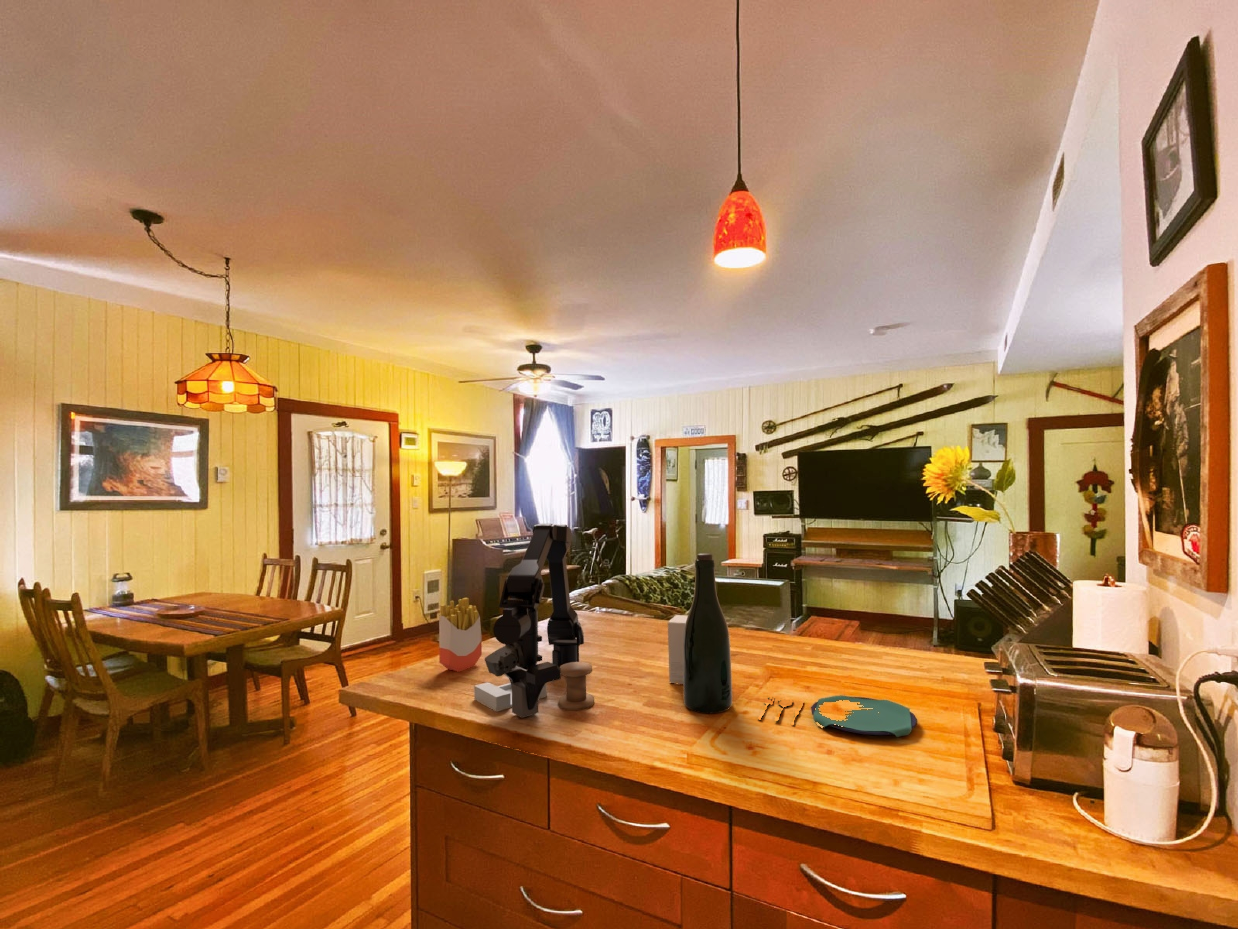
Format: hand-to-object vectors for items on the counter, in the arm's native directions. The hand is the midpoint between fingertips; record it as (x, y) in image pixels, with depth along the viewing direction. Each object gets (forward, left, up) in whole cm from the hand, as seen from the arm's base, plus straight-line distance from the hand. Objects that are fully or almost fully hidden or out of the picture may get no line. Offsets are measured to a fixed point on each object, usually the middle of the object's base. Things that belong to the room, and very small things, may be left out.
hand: (525, 706), depth 122 cm
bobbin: (-12, +2, -2) cm, 12 cm away
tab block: (0, 0, -1) cm, 1 cm away
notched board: (-3, -11, -2) cm, 12 cm away
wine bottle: (-32, +23, -2) cm, 39 cm away
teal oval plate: (-46, +45, -3) cm, 65 cm away
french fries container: (-5, -40, -2) cm, 40 cm away
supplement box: (-42, +9, -2) cm, 43 cm away
